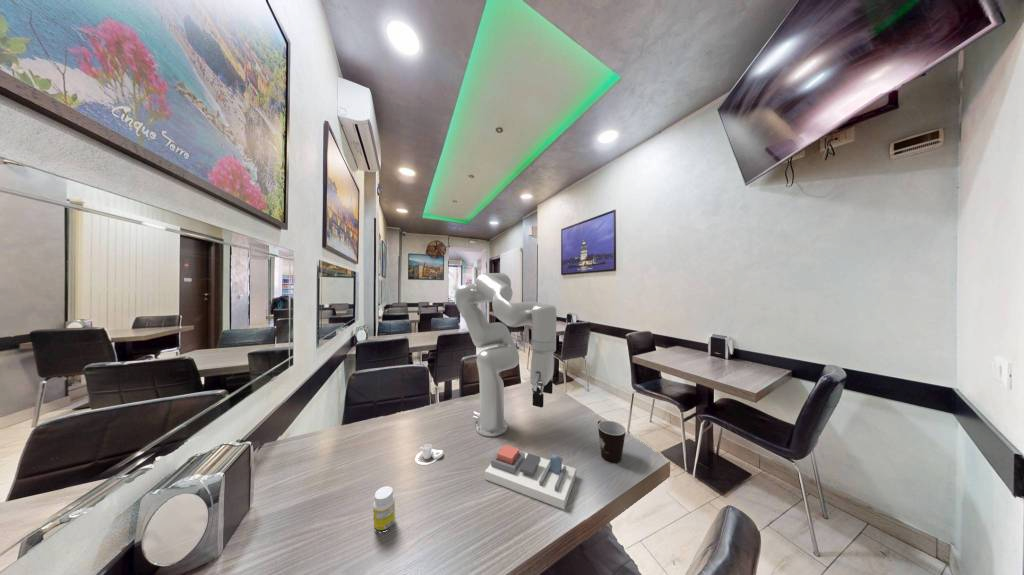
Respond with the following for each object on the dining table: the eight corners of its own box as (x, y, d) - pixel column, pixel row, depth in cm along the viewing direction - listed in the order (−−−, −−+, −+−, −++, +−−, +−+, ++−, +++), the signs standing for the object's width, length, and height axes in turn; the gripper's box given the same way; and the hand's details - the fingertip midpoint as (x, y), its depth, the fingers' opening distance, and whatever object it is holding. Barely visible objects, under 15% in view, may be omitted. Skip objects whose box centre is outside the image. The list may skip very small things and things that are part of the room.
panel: (485, 479, 82) (484, 465, 82) (505, 453, 94) (505, 441, 94) (564, 509, 72) (564, 493, 71) (575, 476, 83) (576, 462, 83)
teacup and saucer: (446, 454, 94) (446, 443, 94) (430, 470, 87) (430, 457, 86) (426, 448, 98) (426, 436, 97) (409, 462, 90) (409, 450, 90)
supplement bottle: (378, 517, 70) (377, 485, 69) (398, 515, 70) (397, 483, 69) (370, 535, 65) (369, 501, 64) (391, 533, 65) (390, 499, 65)
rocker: (520, 472, 81) (520, 468, 81) (528, 456, 86) (528, 453, 86) (533, 476, 79) (533, 472, 79) (540, 460, 84) (540, 456, 84)
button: (497, 460, 85) (497, 453, 85) (505, 450, 89) (505, 444, 89) (512, 465, 82) (512, 458, 82) (519, 455, 87) (519, 449, 87)
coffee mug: (627, 467, 87) (628, 436, 86) (598, 463, 89) (599, 433, 88) (620, 444, 98) (621, 417, 98) (595, 441, 100) (595, 415, 99)
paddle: (550, 471, 82) (550, 455, 81) (551, 468, 83) (551, 452, 83) (561, 474, 80) (561, 459, 80) (562, 471, 81) (563, 456, 81)
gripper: (540, 337, 94) (540, 386, 95) (521, 351, 78) (521, 409, 80) (562, 339, 91) (561, 390, 92) (547, 354, 75) (546, 415, 77)
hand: (542, 399), depth 86 cm, fingers open, 9 cm apart
